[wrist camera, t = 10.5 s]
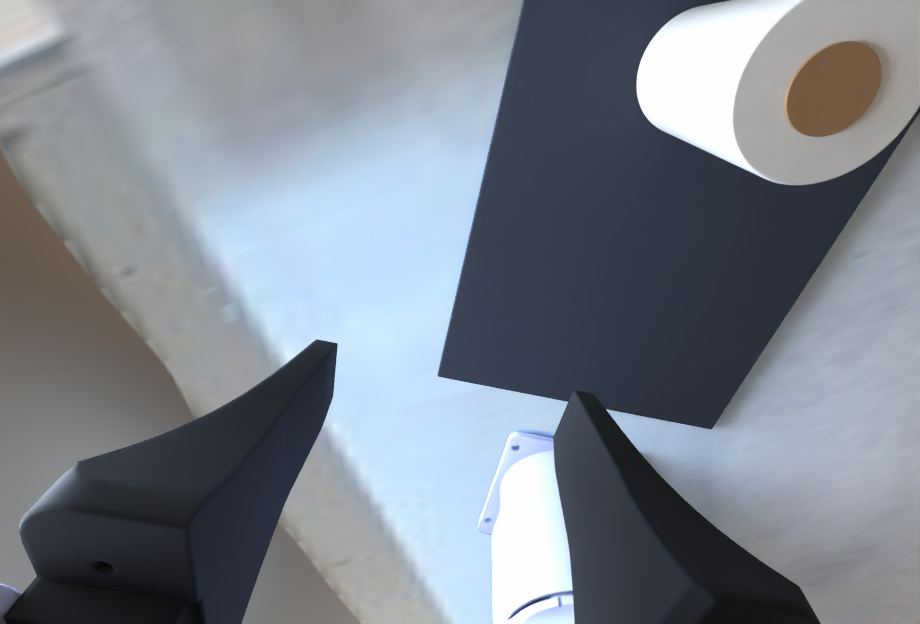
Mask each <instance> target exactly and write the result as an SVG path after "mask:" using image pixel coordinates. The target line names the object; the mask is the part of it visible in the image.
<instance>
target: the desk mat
mask: <svg viewBox="0 0 920 624" xmlns="http://www.w3.org/2000/svg"><path fill="white" fill-rule="evenodd" d="M724 1H729V0H523V5H522V9H521V14H520V18H519V22H518V27H517V31H516V35H515V40H514V44H513V48H512V53H511V57H510V62H509V66H508V70H507V75H506V79H505V83H504V88H503V92H502V96H501V101H500V105H499V110H498V114H497V118H496V123H495V127H494V131H493V136H492V140H491V144H490V149H489V153H488V158H487V162H486V166H485V171H484V175H483V179H482V184H481V188H480V192H479V197H478V201H477V206H476V210H475V214H474V219H473V223H472V227H471V232H470V236H469V241H468V245H467V249H466V254H465V258H464V262H463V267H462V271H461V275H460V280H459V284H458V289H457V293H456V297H455V302H454V306H453V310H452V315H451V319H450V323H449V328H448V332H447V337H446V341H445V345H444V350H443V354H442V358H441V363H440V367H439V371H438V376H439V377H444V378H449V379H454V380H459V381H464V382H469V383H475V384H480V385H485V386H490V387H495V388H500V389H506V390H511V391H516V392H521V393H526V394H531V395H537V396H542V397H547V398H552V399H557V400H562V401H568V402H569V400H570V397H571V395H572V393H573V390H578V391H583V392H588V393H593V394H594V395H595V396H596V398H597V399H598V400H599V401H600V403H601V404H602V405H603V407H604V408H605V409H609V410H614V411H619V412H624V413H630V414H635V415H640V416H645V417H650V418H655V419H660V420H666V421H671V422H676V423H681V424H686V425H691V426H697V427H702V428H707V429H712V428H713V426H714V425H715V423H716V422H717V420H718V419H719V417H720V415H721V414H722V412H723V411H724V409H725V408H726V406H727V405H728V403H729V402H730V400H731V399H732V397H733V396H734V394H735V393H736V391H737V390H738V388H739V387H740V385H741V383H742V382H743V380H744V379H745V377H746V376H747V374H748V373H749V371H750V370H751V368H752V367H753V365H754V364H755V362H756V361H757V359H758V358H759V356H760V355H761V353H762V351H763V350H764V348H765V347H766V345H767V344H768V342H769V341H770V339H771V338H772V336H773V335H774V333H775V332H776V330H777V329H778V327H779V326H780V324H781V323H782V321H783V319H784V318H785V316H786V315H787V313H788V312H789V310H790V309H791V307H792V306H793V304H794V303H795V301H796V300H797V298H798V297H799V295H800V294H801V292H802V291H803V289H804V287H805V286H806V284H807V283H808V281H809V280H810V278H811V277H812V275H813V274H814V272H815V271H816V269H817V268H818V266H819V265H820V263H821V262H822V260H823V259H824V257H825V255H826V254H827V252H828V251H829V249H830V248H831V246H832V245H833V243H834V242H835V240H836V239H837V237H838V236H839V234H840V233H841V231H842V230H843V228H844V227H845V225H846V223H847V222H848V220H849V219H850V217H851V216H852V214H853V213H854V211H855V210H856V208H857V207H858V205H859V204H860V202H861V201H862V199H863V198H864V196H865V195H866V193H867V191H868V190H869V188H870V187H871V185H872V184H873V182H874V181H875V179H876V178H877V176H878V175H879V173H880V172H881V170H882V169H883V167H884V166H885V164H886V163H887V161H888V159H889V158H890V156H891V155H892V153H893V152H894V150H895V149H896V147H897V146H898V144H899V143H900V141H901V140H902V138H903V137H904V135H905V134H906V132H907V131H908V129H909V127H910V126H911V124H912V123H913V121H914V120H915V118H916V117H917V115H918V114H919V112H920V106H919V108H918V110H917V112H916V113H915V114H914V116H913V117H912V119H911V120H910V121H909V123H908V124H907V125H906V127H905V128H904V129H903V130H902V131H901V132H900V134H899V135H898V136H897V137H896V138H895V139H894V140H893V141H892V142H891V143H890V144H889V145H888V146H887V147H886V148H884V149H883V150H882V151H881V152H880V153H878V154H877V155H876V156H875V157H873V158H872V159H870V160H869V161H867V162H866V163H864V164H863V165H861V166H859V167H858V168H856V169H854V170H852V171H850V172H848V173H846V174H844V175H841V176H839V177H836V178H833V179H830V180H827V181H824V182H819V183H815V184H808V185H785V184H779V183H775V182H772V181H769V180H766V179H764V178H762V177H760V176H758V175H756V174H754V173H751V172H749V171H747V170H745V169H743V168H741V167H739V166H737V165H734V164H732V163H730V162H728V161H726V160H724V159H722V158H719V157H717V156H715V155H713V154H711V153H709V152H707V151H705V150H702V149H700V148H698V147H696V146H694V145H692V144H690V143H688V142H685V141H683V140H681V139H679V138H677V137H675V136H673V135H671V134H668V133H666V132H664V131H662V130H660V129H658V128H657V127H656V126H654V125H653V124H652V123H651V122H650V121H649V120H648V119H647V117H646V116H645V115H644V113H643V111H642V109H641V107H640V104H639V101H638V96H637V75H638V69H639V66H640V62H641V59H642V57H643V55H644V52H645V50H646V48H647V47H648V45H649V43H650V42H651V40H652V39H653V37H654V36H655V35H656V34H657V33H658V31H659V30H660V29H661V28H662V27H663V26H664V25H665V24H666V23H667V22H669V21H670V20H671V19H673V18H674V17H676V16H677V15H679V14H681V13H682V12H684V11H687V10H689V9H691V8H695V7H698V6H703V5H708V4H713V3H719V2H724Z"/></svg>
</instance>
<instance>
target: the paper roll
mask: <svg viewBox="0 0 920 624" xmlns="http://www.w3.org/2000/svg"><path fill="white" fill-rule="evenodd" d="M637 96H638V101H639V104H640V107H641V109H642V111H643V113H644V115H645V116H646V117H647V119H648V120H649V121H650V122H651V123H652V124H653V125H654V126H656V127H657V128H658V129H660V130H662V131H664V132H666V133H668V134H671V135H673V136H675V137H677V138H679V139H681V140H683V141H685V142H688V143H690V144H692V145H694V146H696V147H698V148H700V149H702V150H705V151H707V152H709V153H711V154H713V155H715V156H717V157H719V158H722V159H724V160H726V161H728V162H730V163H732V164H734V165H737V166H739V167H741V168H743V169H745V170H747V171H749V172H751V173H754V174H756V175H758V176H760V177H762V178H764V179H766V180H769V181H772V182H775V183H779V184H785V185H808V184H815V183H819V182H824V181H827V180H830V179H833V178H836V177H839V176H841V175H844V174H846V173H848V172H850V171H852V170H854V169H856V168H858V167H859V166H861V165H863V164H864V163H866V162H867V161H869V160H870V159H872V158H873V157H875V156H876V155H877V154H878V153H880V152H881V151H882V150H883V149H884V148H886V147H887V146H888V145H889V144H890V143H891V142H892V141H893V140H894V139H895V138H896V137H897V136H898V135H899V134H900V132H901V131H902V130H903V129H904V128H905V127H906V125H907V124H908V123H909V121H910V120H911V119H912V117H913V116H914V114H915V113H916V112H917V110H918V108H919V106H920V0H729V1H724V2H719V3H713V4H708V5H703V6H698V7H695V8H691V9H689V10H687V11H684V12H682V13H681V14H679V15H677V16H676V17H674V18H673V19H671V20H670V21H669V22H667V23H666V24H665V25H664V26H663V27H662V28H661V29H660V30H659V31H658V33H657V34H656V35H655V36H654V37H653V39H652V40H651V42H650V43H649V45H648V47H647V48H646V50H645V52H644V55H643V57H642V59H641V62H640V66H639V69H638V75H637Z"/></svg>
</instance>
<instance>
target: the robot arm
mask: <svg viewBox="0 0 920 624" xmlns="http://www.w3.org/2000/svg"><path fill="white" fill-rule="evenodd" d="M336 356H337V343H332V342H327V341H322V340H315V341H314V342H312V343H311V344H310V345H309V346H308V347H306V348H305V349H304V350H303V351H301V352H300V353H299V354H298V355H297V356H295V357H294V358H293V359H292V360H290V361H289V362H288V363H287V364H285V365H284V366H283V367H281V368H280V369H279V370H277V371H276V372H274V373H273V374H272V375H270V376H269V377H268V378H266V379H265V380H263V381H262V382H260V383H259V384H257V385H256V386H254V387H253V388H251V389H250V390H248V391H247V392H245V393H244V394H242V395H241V396H239V397H237V398H236V399H234V400H232V401H231V402H229V403H227V404H225V405H224V406H222V407H220V408H218V409H216V410H215V411H213V412H211V413H209V414H207V415H205V416H202V417H200V418H198V419H196V420H194V421H192V422H189V423H187V424H185V425H183V426H181V427H179V428H176V429H174V430H171V431H169V432H166V433H164V434H162V435H159V436H157V437H154V438H151V439H148V440H145V441H143V442H140V443H137V444H135V445H131V446H128V447H126V448H122V449H119V450H116V451H112V452H109V453H106V454H102V455H99V456H96V457H92V458H89V459H86V460H82V461H78V462H77V463H76V464H75V465H74V466H73V467H72V468H71V469H69V470H68V471H67V472H66V473H65V474H64V475H63V476H62V477H61V478H60V479H59V480H58V481H57V482H56V483H55V484H54V485H53V486H52V487H51V488H50V489H49V490H48V491H47V492H46V493H45V494H44V495H43V496H42V497H41V498H40V500H39V501H37V503H36V504H35V505H34V506H33V507H32V508H31V509H30V510H29V511H28V512H27V513H26V514H25V515H24V516H23V517H22V519H21V522H20V525H19V531H20V536H21V540H22V543H23V545H24V548H25V550H26V552H27V554H28V557H29V559H30V561H31V563H32V566H33V568H34V570H35V572H36V575H37V577H36V578H35V579H34V581H33V582H32V583H31V584H30V586H29V587H28V588H27V589H26V590H25V591H24V593H23V594H22V593H21V592H20V591H19V590H18V589H16V588H14V587H12V586H9V585H5V584H1V583H0V624H241V623H242V620H243V617H244V614H245V611H246V608H247V606H248V602H249V599H250V597H251V594H252V591H253V588H254V586H255V583H256V580H257V577H258V574H259V571H260V568H261V566H262V563H263V560H264V558H265V555H266V552H267V549H268V547H269V544H270V541H271V538H272V536H273V533H274V530H275V527H276V525H277V522H278V520H279V517H280V515H281V512H282V509H283V507H284V504H285V502H286V500H287V497H288V495H289V493H290V491H291V489H292V487H293V485H294V483H295V481H296V479H297V477H298V475H299V473H300V471H301V469H302V467H303V465H304V463H305V461H306V459H307V457H308V455H309V453H310V451H311V449H312V446H313V444H314V442H315V440H316V438H317V436H318V434H319V432H320V430H321V428H322V426H323V423H324V421H325V418H326V415H327V412H328V409H329V406H330V403H331V401H332V398H333V390H334V379H335V367H336ZM513 445H518V446H513ZM478 530H479V532H481V533H484V534H489V535H492V602H493V623H494V624H821V623H820V622H819V620H818V618H817V616H816V615H815V613H814V611H813V609H812V608H811V606H810V604H809V602H808V601H807V599H806V597H805V595H804V594H803V592H802V590H801V589H800V587H799V586H797V585H796V584H794V583H793V582H791V581H790V580H788V579H787V578H785V577H784V576H782V575H781V574H779V573H778V572H776V571H775V570H773V569H772V568H770V567H769V566H767V565H766V564H764V563H763V562H761V561H760V560H758V559H757V558H756V557H754V556H753V555H751V554H750V553H749V552H747V551H746V550H745V549H743V548H742V547H741V546H739V545H738V544H737V543H735V542H734V541H733V540H731V539H730V538H729V537H727V536H726V535H725V534H724V533H722V532H721V531H720V530H719V529H717V528H716V527H715V526H714V525H713V524H711V523H710V522H709V521H708V520H707V519H706V518H704V517H703V516H702V515H701V514H700V513H699V512H697V511H696V510H695V509H694V508H693V507H692V506H691V505H690V504H688V503H687V502H686V501H685V500H684V499H683V498H682V497H681V496H680V495H679V494H678V493H677V492H676V491H675V490H674V489H673V488H672V487H671V486H670V485H669V484H668V483H667V482H666V481H665V480H664V479H663V478H662V477H661V476H660V475H659V474H658V473H657V472H656V471H655V469H654V468H653V467H652V466H651V465H650V464H649V463H648V462H647V460H646V459H645V458H644V457H643V456H642V455H641V453H640V452H639V451H638V450H637V449H636V448H635V446H634V445H633V444H632V443H631V441H630V440H629V439H628V438H627V436H626V435H625V434H624V433H623V431H622V430H621V429H620V427H619V426H618V425H617V424H616V422H615V421H614V420H613V418H612V417H611V416H610V414H609V413H608V412H607V410H606V409H605V408H604V407H603V405H602V404H601V403H600V401H599V400H598V399H597V398H596V396H595V395H594V394H593V393H588V392H583V391H578V390H573V393H572V395H571V397H570V400H569V402H568V404H567V407H566V409H565V411H564V414H563V416H562V418H561V421H560V423H559V426H558V428H557V430H556V433H555V435H554V437H553V438H550V437H545V436H539V435H534V434H529V433H523V432H513V433H512V434H511V435H510V436H509V439H508V441H507V444H506V447H505V450H504V453H503V455H502V458H501V461H500V464H499V467H498V469H497V472H496V475H495V478H494V481H493V483H492V486H491V489H490V492H489V494H488V497H487V500H486V503H485V506H484V508H483V511H482V514H481V517H480V520H479V522H478Z"/></svg>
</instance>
